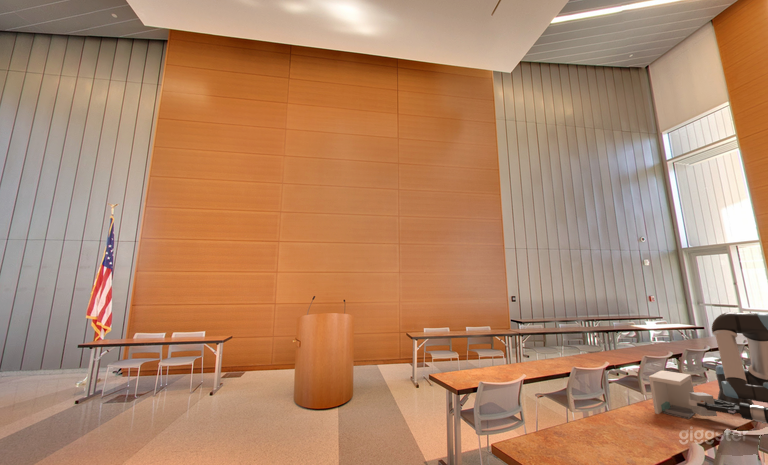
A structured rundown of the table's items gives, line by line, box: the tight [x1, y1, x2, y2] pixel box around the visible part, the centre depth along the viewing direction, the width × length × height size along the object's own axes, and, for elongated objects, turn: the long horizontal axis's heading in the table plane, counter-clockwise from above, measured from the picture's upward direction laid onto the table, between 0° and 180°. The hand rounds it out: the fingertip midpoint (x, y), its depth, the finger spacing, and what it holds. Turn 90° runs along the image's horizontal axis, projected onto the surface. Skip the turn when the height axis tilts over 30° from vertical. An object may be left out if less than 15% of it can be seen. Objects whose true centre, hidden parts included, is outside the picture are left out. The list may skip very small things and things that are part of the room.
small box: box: [689, 391, 718, 417], centre depth 169 cm, size 8×6×10 cm
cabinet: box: [648, 369, 696, 420], centre depth 179 cm, size 14×24×20 cm, turn 125°
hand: (691, 400), depth 173 cm, fingers closed on small box, 9 cm apart
